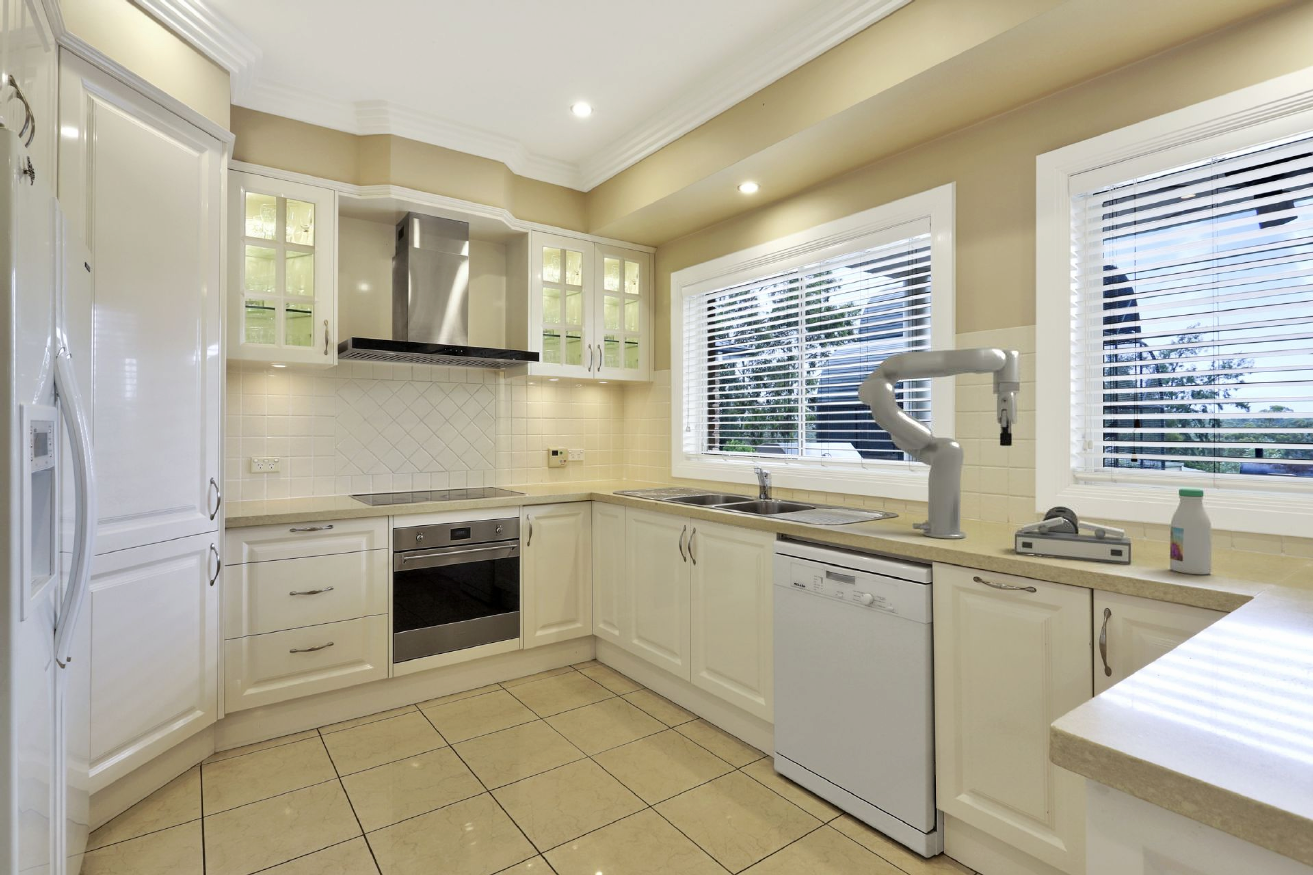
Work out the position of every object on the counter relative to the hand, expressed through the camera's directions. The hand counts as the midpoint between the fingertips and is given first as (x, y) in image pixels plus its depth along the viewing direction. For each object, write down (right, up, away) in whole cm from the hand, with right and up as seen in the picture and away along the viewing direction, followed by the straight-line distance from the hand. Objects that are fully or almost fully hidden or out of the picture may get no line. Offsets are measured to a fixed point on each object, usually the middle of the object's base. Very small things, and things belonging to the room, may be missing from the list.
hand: (1005, 445), depth 211 cm
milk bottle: (+16, -30, -53) cm, 63 cm away
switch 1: (-5, -24, -29) cm, 38 cm away
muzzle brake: (+8, -30, -15) cm, 34 cm away
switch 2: (+5, -24, -36) cm, 44 cm away
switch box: (0, -30, -34) cm, 45 cm away
